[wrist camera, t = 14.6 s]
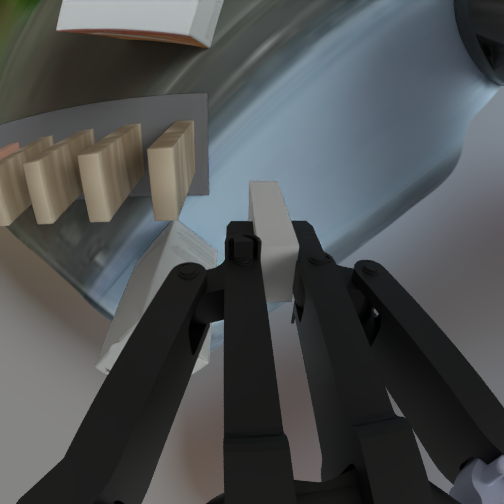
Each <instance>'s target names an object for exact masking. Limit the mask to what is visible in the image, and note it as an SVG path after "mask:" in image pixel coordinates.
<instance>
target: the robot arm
mask: <svg viewBox="0 0 504 504" xmlns="http://www.w3.org/2000/svg"><path fill="white" fill-rule="evenodd" d="M454 5H455V15H456V21H457V25H458V29H459V32H460V35H461V38H462V40H463V43H464V45H465V47H466V49H467V51H468V53H469V55H470V56H471V58H472V60H473V61H474V63H475V64H476V65H477V67H478V68H479V69H480V70H481V71H482V72H483V73H484V74H485V75H486V76H487V77H488V78H489V79H490V80H492V81H493V82H495V83H497V84H499V85H502V86H504V0H454ZM293 294H294V299H295V301H294V308H293V314H292V320H291V323H294V320H296V325H297V330H298V335H299V339H300V344H301V349H302V354H303V359H304V364H305V369H306V374H307V379H308V384H309V389H310V394H311V400H312V405H313V410H314V415H315V420H316V426H317V431H318V437H319V442H320V448H321V453H322V468H321V479H322V482H309V481H299V480H294V477H293V470H292V463H291V454H290V447H289V442H288V438H287V436H286V435H285V434H284V431H283V426H282V418H281V410H280V403H279V395H278V387H277V380H276V371H275V364H274V356H273V349H272V341H271V333H270V326H269V319H268V311H267V304H266V302H291V301H292V295H293ZM374 309H376V310H377V312H378V313H379V315H378V316H377V315H376V314H375V313H374ZM223 319H224V442H223V444H224V445H223V449H224V450H223V452H224V453H223V454H224V493H222V494H220V495H218V496H216V497H215V498H213V499H212V500H210V501H209V502H208V503H206V504H504V408H503V406H502V405H501V403H500V402H499V401H498V399H497V398H496V397H495V395H494V394H493V393H492V392H491V390H490V389H489V387H488V386H487V385H486V384H485V382H484V381H483V380H482V378H481V377H480V376H479V375H478V373H477V372H476V371H475V370H474V368H473V367H472V366H471V365H470V363H469V362H468V361H467V360H466V359H465V357H464V356H463V355H462V354H461V352H460V351H459V350H458V349H457V348H456V346H455V345H454V344H453V343H452V342H451V341H450V339H449V338H448V337H447V336H446V335H445V333H444V332H443V331H442V330H441V329H440V328H439V327H438V326H437V324H436V323H435V322H434V321H433V320H432V319H431V317H429V315H428V314H427V313H426V312H425V311H424V310H423V309H422V307H420V305H419V304H418V303H417V302H416V301H415V300H414V299H413V298H412V296H410V294H409V293H408V292H407V291H406V290H405V289H404V288H403V287H402V286H401V285H400V284H399V283H398V282H397V280H396V279H394V277H393V276H392V275H391V274H390V273H389V272H388V271H387V270H386V269H385V268H384V267H383V266H382V265H380V264H379V263H377V262H374V261H371V260H360V261H358V262H356V264H355V265H354V269H352V268H347V267H342V266H339V265H336V263H335V261H334V259H333V258H332V256H330V255H329V254H327V253H325V252H324V251H323V249H322V247H321V244H320V242H319V240H318V238H317V235H316V233H315V231H314V228H313V226H312V225H310V224H309V223H308V222H307V221H291V220H290V217H289V214H288V211H287V208H286V205H285V202H284V199H283V196H282V194H281V191H280V188H279V185H278V182H277V181H250V184H249V218H248V221H231V222H230V223H229V224H228V226H227V232H226V240H225V261H224V262H223V263H222V264H221V265H219V266H217V267H215V268H212V269H208V270H206V269H205V267H204V266H202V265H201V264H199V263H195V262H185V263H181V264H179V265H177V266H175V267H174V268H173V269H172V270H171V271H170V273H169V274H168V276H167V277H166V279H165V280H164V282H163V284H162V285H161V287H160V288H159V290H158V292H157V293H156V295H155V296H154V298H153V300H152V301H151V303H150V304H149V306H148V308H147V309H146V311H145V313H144V314H143V316H142V317H141V319H140V321H139V322H138V324H137V326H136V327H135V329H134V331H133V332H132V334H131V336H130V337H129V339H128V341H127V343H126V344H125V346H124V348H123V349H122V351H121V353H120V355H119V356H118V358H117V360H116V361H115V363H114V365H113V367H112V368H111V370H110V372H109V374H108V375H107V377H106V379H105V381H104V383H103V384H102V386H101V388H100V390H99V392H98V394H97V395H96V397H95V399H94V401H93V403H92V405H91V406H90V408H89V410H88V412H87V414H86V416H85V418H84V420H83V421H82V423H81V425H80V427H79V429H78V431H77V433H76V435H75V437H74V439H73V441H72V443H71V445H70V447H69V449H68V451H67V453H66V455H65V457H64V458H63V459H62V460H61V461H60V462H59V463H58V464H57V465H56V466H55V467H54V468H53V469H52V470H51V471H49V472H48V473H47V474H46V475H45V476H44V477H43V478H42V479H41V480H40V481H39V482H38V483H37V484H35V485H34V486H33V487H32V488H31V489H30V490H29V491H28V492H27V493H26V494H24V496H22V497H21V498H20V499H19V500H18V502H17V503H16V504H141V503H142V501H143V499H144V497H145V494H146V492H147V490H148V488H149V485H150V482H151V479H152V477H153V474H154V471H155V469H156V466H157V463H158V461H159V458H160V455H161V453H162V450H163V447H164V445H165V442H166V440H167V437H168V434H169V432H170V429H171V426H172V423H173V421H174V418H175V416H176V413H177V411H178V408H179V405H180V403H181V400H182V398H183V395H184V392H185V390H186V387H187V385H188V382H189V379H190V377H191V374H192V372H193V369H194V366H195V364H196V361H197V359H198V356H199V353H200V351H201V348H202V346H203V343H204V341H205V338H206V336H207V333H208V330H209V328H210V323H212V322H216V321H220V320H223ZM385 387H386V388H387V390H388V391H389V393H390V394H391V396H392V398H393V399H394V401H395V402H396V404H397V405H398V407H399V408H400V410H401V412H402V413H403V415H404V416H405V417H399V416H397V415H396V414H395V413H394V411H393V408H392V405H391V403H390V399H389V396H388V393H387V391H386V388H385ZM412 429H413V430H414V432H415V434H416V435H417V437H418V438H419V440H420V442H421V443H422V445H423V446H424V448H425V450H426V451H427V453H428V454H429V456H430V458H431V459H432V461H433V462H434V464H435V465H436V466H437V468H438V469H439V470H440V472H441V473H442V474H443V475H444V476H445V477H446V478H447V479H448V480H449V481H450V482H451V483H452V484H453V485H454V487H452V488H451V490H450V492H449V495H448V494H447V493H445V492H444V491H442V490H441V489H440V488H438V487H437V486H435V485H434V484H433V483H431V482H430V481H428V478H427V474H426V471H425V467H424V464H423V461H422V458H421V454H420V451H419V448H418V445H417V442H416V439H415V436H414V433H413V430H412Z"/></svg>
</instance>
